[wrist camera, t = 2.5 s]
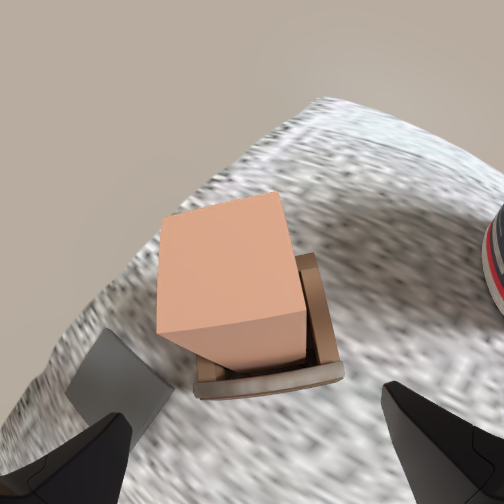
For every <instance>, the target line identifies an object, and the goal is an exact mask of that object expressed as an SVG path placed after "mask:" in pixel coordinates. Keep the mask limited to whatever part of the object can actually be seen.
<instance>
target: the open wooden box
mask: <svg viewBox="0 0 504 504" xmlns="http://www.w3.org/2000/svg"><path fill="white" fill-rule="evenodd" d="M295 261H296V265H297V269H298V274H299V278H300V283H301V287H302V292H303V296H304V301H305V305H306V313H307V318H308V323H309V328H310V333H311V338H312V343H313V348H314V353H315V359H316V364H317V366H313V367H308V368H303V369H298V370H292V371H287V372H281V373H275V374H268V375H262V376H255V377H247V378H239V379H231V373H230V369H229V368H226V367H224V366H222V365H219V364H217V363H215V362H213V361H211V360H208V359H206V358H204V357H202V356H200V355H198V354H196V358H197V372H198V383H195V384H194V386H193V392H194V396H195V397H196V398H200V400H230V399H241V398H250V397H258V396H266V395H273V394H279V393H286V392H291V391H297V390H302V389H308V388H313V387H317V386H322V385H326V384H331V383H335V382H338V381H340V380H342V379H343V377H344V376H345V371H344V366H343V362H342V361H340V359H339V354H338V349H337V345H336V340H335V335H334V331H333V327H332V322H331V318H330V314H329V310H328V305H327V301H326V297H325V293H324V289H323V285H322V281H321V278H320V274H319V270H318V266H317V263H316V259H315V255H314V253H309V254H304V255H299V256H295Z"/></svg>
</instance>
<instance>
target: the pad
mask: <svg viewBox="0 0 504 504" xmlns="http://www.w3.org/2000/svg"><path fill="white" fill-rule="evenodd" d="M174 390H175V389H174V388H173V387H172V386H171V385H170V384H168V383H167V382H166V381H165V380H164V379H162V378H161V377H160V376H159V375H158V374H157V373H155V372H154V371H153V370H152V369H151V368H150V367H149V366H148V365H147V364H145V363H144V362H143V361H142V360H141V359H140V358H139V357H138V356H137V355H136V354H135V353H134V352H133V351H132V350H130V349H129V348H128V347H127V346H126V345H125V344H124V343H123V342H122V341H121V340H120V339H119V338H118V337H117V336H116V335H115V334H114V333H113V331H111V330H109V329H107V328H105V329H104V331H103V332H102V334H101V335H100V337H99V338H98V340H97V341H96V343H95V344H94V346H93V347H92V349H91V351H90V352H89V354H88V355H87V357H86V358H85V360H84V362H83V363H82V365H81V367H80V368H79V370H78V371H77V373H76V375H75V376H74V378H73V380H72V382H71V383H70V385H69V387H68V388H67V390H66V392H65V394H66V396H67V397H68V399H69V400H70V401H71V403H72V404H73V406H74V407H75V408H76V410H77V411H78V412H79V414H80V415H81V416H82V418H83V419H84V420H85V421H86V423H87V424H88V425H89V426H92V425H93V424H95V423H96V422H98V421H99V420H101V419H102V418H103V417H105V416H106V415H108V414H109V413H111V412H120V413H122V414H123V415H124V416H125V418H126V419H127V421H128V422H129V424H130V425H131V426H132V430H133V433H132V439H131V445H130V451H131V450H132V449H133V447H134V446H135V445H136V443H137V442H138V440H139V439H140V438H141V436H142V435H143V433H144V432H145V431H146V429H147V428H148V426H149V425H150V424H151V422H152V421H153V419H154V418H155V417H156V415H157V414H158V412H159V411H160V409H161V408H162V407H163V405H164V404H165V402H166V401H167V400H168V398H169V397H170V395H171V394H172V392H173V391H174ZM130 451H129V453H130Z"/></svg>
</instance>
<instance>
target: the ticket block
mask: <svg viewBox="0 0 504 504" xmlns="http://www.w3.org/2000/svg"><path fill="white" fill-rule="evenodd" d="M157 334H158V335H160V336H162V337H164V338H166V339H168V340H170V341H172V342H174V343H176V344H178V345H179V346H181V347H183V348H185V349H187V350H190V351H192V352H194V353H196V354H198V355H200V356H202V357H204V358H206V359H208V360H211V361H213V362H215V363H217V364H219V365H222V366H224V367H226V368H229V369H231V370H233V371H236V372H238V373H240V374H242V373H250V372H257V371H264V370H270V369H277V368H282V367H288V366H294V365H299V364H304V363H306V305H305V301H304V296H303V292H302V287H301V283H300V278H299V274H298V269H297V265H296V261H295V256H294V252H293V248H292V244H291V240H290V235H289V231H288V227H287V223H286V219H285V215H284V211H283V207H282V204H281V200H280V196H279V192H278V191H276V192H271V193H266V194H261V195H257V196H252V197H247V198H243V199H238V200H234V201H230V202H225V203H221V204H217V205H212V206H208V207H204V208H200V209H196V210H192V211H188V212H184V213H180V214H176V215H173V216H169V217H165V218H162V227H161V237H160V250H159V265H158V284H157Z"/></svg>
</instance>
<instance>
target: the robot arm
mask: <svg viewBox="0 0 504 504" xmlns="http://www.w3.org/2000/svg"><path fill="white" fill-rule="evenodd" d="M381 406H382V410H383V413H384V416H385V419H386V423H387V426H388V430H389V433H390V437H391V440H392V443H393V446H394V449H395V451H396V453H397V456H398V458H399V460H400V463H401V465H402V467H403V470H404V472H405V475H406V477H407V480H408V482H409V485H410V487H411V490H412V492H413V495H414V497H415V500H416V503H417V504H504V439H502V438H500V437H497V436H494V435H492V434H490V433H488V432H486V431H484V430H482V429H480V428H478V427H476V426H473V425H472V424H471V423H469V422H467V421H465V420H463V419H461V418H460V417H458V416H456V415H454V414H452V413H451V412H449V411H447V410H445V409H444V408H442V407H440V406H438V405H437V404H435V403H433V402H431V401H430V400H428V399H426V398H424V397H423V396H421V395H419V394H417V393H416V392H414V391H412V390H411V389H409V388H407V387H406V386H404V385H402V384H401V383H399V382H397V381H391V382H388V383H385V384H384V385H383V387H382V396H381ZM132 433H133V430H132V426H131V425H130V424H129V422H128V421H127V419H126V418H125V416H124V415H123V414H122V413H120V412H111V413H109V414H108V415H106V416H105V417H103V418H102V419H101V420H99V421H98V422H96V423H95V424H93V425H92V426H90V427H89V428H87V429H86V430H84V431H83V432H81V433H80V434H78V435H77V436H75V437H74V438H72V439H70V440H69V441H67V442H66V443H64V444H63V445H61V446H59V447H58V448H56V449H55V450H53V451H52V452H50V453H48V454H47V455H45V456H43V457H42V458H40V459H38V460H37V461H35V462H33V463H31V464H29V465H27V466H25V467H23V468H21V469H18V470H16V471H14V472H12V473H9V474H7V475H4V476H0V504H117V503H118V498H119V494H120V490H121V486H122V482H123V479H124V475H125V471H126V467H127V463H128V457H129V451H130V445H131V439H132Z"/></svg>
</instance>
